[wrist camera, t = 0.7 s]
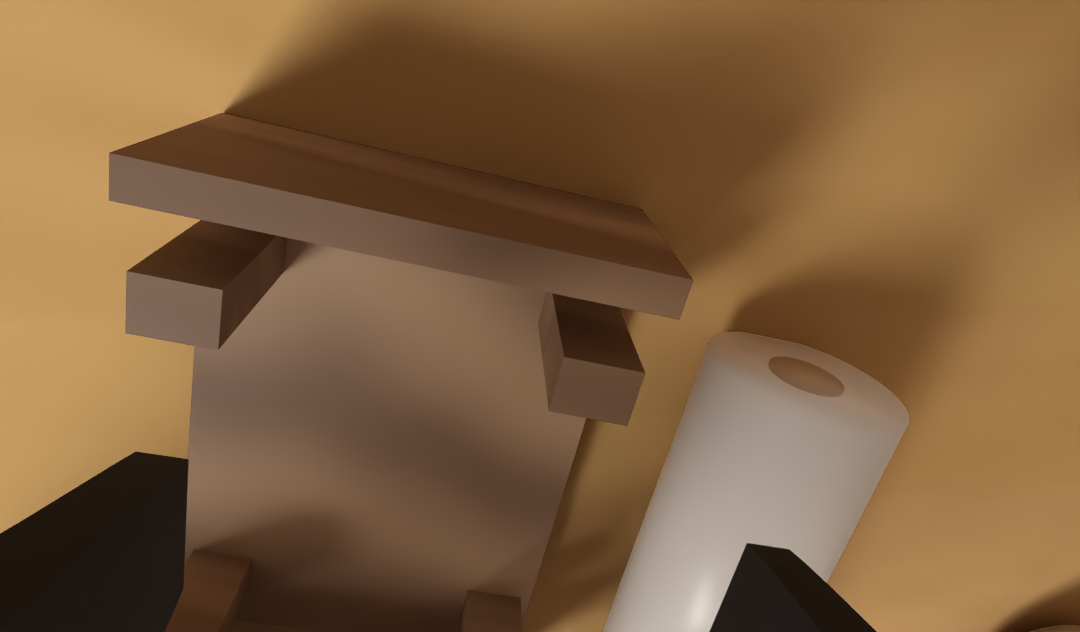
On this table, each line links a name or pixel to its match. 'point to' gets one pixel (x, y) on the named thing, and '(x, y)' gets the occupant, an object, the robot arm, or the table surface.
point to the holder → (379, 371)
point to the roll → (756, 476)
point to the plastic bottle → (1059, 628)
